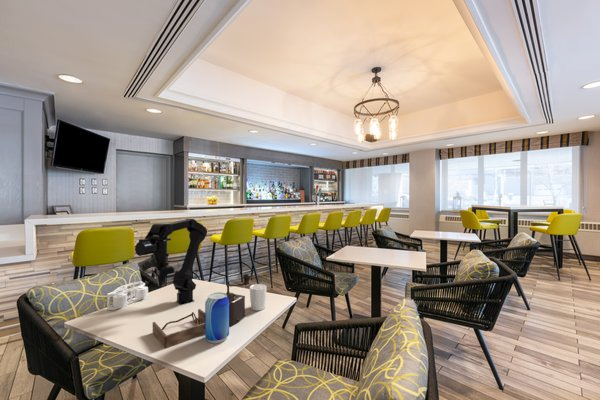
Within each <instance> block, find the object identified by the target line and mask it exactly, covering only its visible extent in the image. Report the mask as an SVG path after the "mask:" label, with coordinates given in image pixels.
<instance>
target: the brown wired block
mask: <svg viewBox="0 0 600 400" xmlns="http://www.w3.org/2000/svg"><path fill="white" fill-rule="evenodd" d="M197 318H198V319H201V321H202V323H203V324H201V323H200V325H199V324H197V325H194V326H191V327H188V328H184V329H181V330H179V331H175V332H173V333H169V334H166V333H165V332H164V330H161V329H162V328H161V327H160V326H159V325H158V324H157V322H156V321H153V322H152V334H153V335H154V337H155V338H156V339H157V340H158V342H159V343H160V345H162V347H163V348H164V349H168V348H170V347H173V346H176V345H179V344H181V343H184V342H186V341H187V342H188V341H190V340H193V339H195V338H198V337H200V336H203V335H204V336H205V311H203V310H202V309H201V308H199V309H198V310H197Z"/></svg>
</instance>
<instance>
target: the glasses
mask: <svg viewBox="0 0 600 400" xmlns="http://www.w3.org/2000/svg"><path fill="white" fill-rule="evenodd" d="M190 317H191V318H192V320H193V322H194V323H195V324H197V323H198V325H200V324H203V322H202V321H201V319H198V316H196V313H195V312H194V311H192V312H191V313H190V314H188V315H186V316H184V317H181V318H179V319H178V320H172V321H169V322H165V325H164V326H163V327H162V328H161V330H162V331H164V329H165V328H166V327H167V326H168V325H170V324H175V323H178V322H181V321H183V320H185V319H188V318H190Z"/></svg>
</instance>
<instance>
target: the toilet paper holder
mask: <svg viewBox="0 0 600 400" xmlns="http://www.w3.org/2000/svg"><path fill="white" fill-rule="evenodd" d="M136 285H137V286H136ZM130 286H132V287H130ZM128 287H130V288H128ZM129 292H130V294H129V295H128V293H129ZM148 296H149V287H148V286H146V282H144V281H142V280H141V281H140V280H139V281H135V282H134V281H133V282H129V283H126V284H123V285H121V286H118V287H117V288H115V289H114V290H113V291H111V292H108V293H106V297H107V299H106V300H107V301H106V302H107V303H106V304H107V306H106V307H107V308H106V310H107V311H113V310H114V311H115V310H118V309H120V308H123V307H125V306H127V305H130V304H133V303H136V302H139V301H141V300H143V299H144V298H146V297H148ZM111 297H112V304H110V298H111ZM133 298H135V299H133ZM128 299H130V300H129V301H128Z"/></svg>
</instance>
